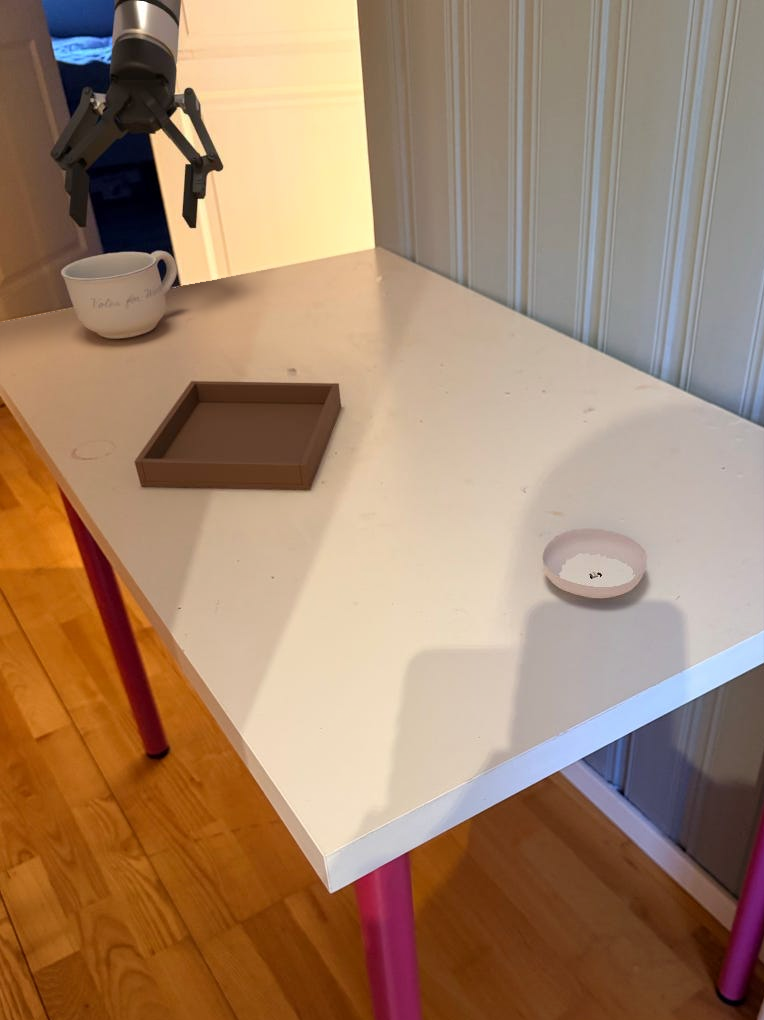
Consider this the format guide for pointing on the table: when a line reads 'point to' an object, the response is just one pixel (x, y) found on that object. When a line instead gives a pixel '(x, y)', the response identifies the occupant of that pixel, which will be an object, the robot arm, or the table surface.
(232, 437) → the tray
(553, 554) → the shallow pink dish
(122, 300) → the teacup
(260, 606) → the table surface
